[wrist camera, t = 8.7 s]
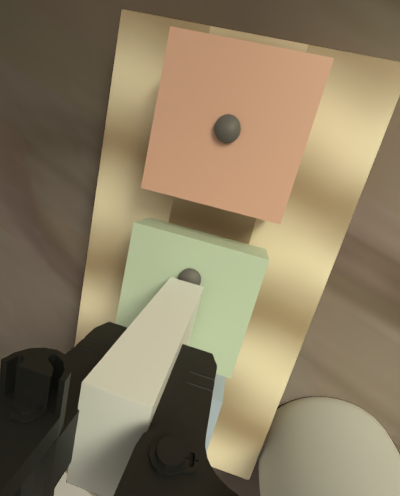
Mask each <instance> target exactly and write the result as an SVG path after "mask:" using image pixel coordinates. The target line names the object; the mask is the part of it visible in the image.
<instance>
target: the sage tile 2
mask: <svg viewBox="0 0 400 496" xmlns="http://www.w3.org/2000/svg"><path fill="white" fill-rule="evenodd" d="M268 263H269V257H268V254H267V251H266V249H264V248H260V247H256V246H253V245H249V244H245V243H242V242H238V241H234V240H231V239H227V238H223V237H220V236H216V235H213V234H209V233H205V232H202V231H198V230H194V229H191V228H187V227H183V226H180V225H176V224H172V223H169V222H165V221H161V220H158V219H154V218H150V217H149V218H145V219H142V220H139V221H136V222H134V223H133V228H132V234H131V239H130V245H129V250H128V256H127V261H126V267H125V273H124V278H123V284H122V289H121V295H120V300H119V306H118V311H117V317H116V322H115V324H118V325H121V326H124V327H127V328H128V327H129V326H130V325H131V323H132V322H133V321H134V320H135V319H136V317H137V316H138V315H139V314H140V313H141V312H142V310H143V309H144V308H145V307H146V306H147V304H148V303H149V302H150V301H151V300H152V299H153V297H154V296H155V295H156V294H157V293H158V291H159V290H160V289H161V288H162V287H163V285H164V284H165V283H166V282H167V281H168V280H169V278H170V277H172V278H175V279H179V280H182V281H186V282H189V283H192V284H196V285H199V286H203V287H204V288H203V292H202V296H201V299H200V303H199V307H198V311H197V314H196V318H195V322H194V326H193V329H192V333H191V337H190V341H189V344H188V346H190V347H193V348H197V349H200V350H203V351H206V352H209V353H212V354H213V356H214V359H215V362H216V364H217V371H216V374H218V375H221V376H224V377H227V378H230V379H231V377H232V374H233V370H234V367H235V364H236V361H237V358H238V355H239V352H240V349H241V346H242V343H243V340H244V337H245V333H246V330H247V327H248V324H249V321H250V318H251V315H252V312H253V309H254V306H255V303H256V300H257V296H258V293H259V290H260V287H261V284H262V281H263V278H264V275H265V272H266V269H267V266H268Z"/></svg>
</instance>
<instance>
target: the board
mask: <svg viewBox="0 0 400 496" xmlns="http://www.w3.org/2000/svg"><path fill="white" fill-rule="evenodd" d="M170 26H172V27H177V28H182V29H188V30H193V31H198V32H203V33H208V34H213V35H218V36H224V37H229V38H234V39H239V40H244V41H249V42H255V43H260V44H265V45H270V46H275V47H280V48H285V49H291V50H296V51H301V52H306V53H311V54H316V55H321V56H327V57H332V58H334V61H333V64H332V67H331V70H330V73H329V76H328V79H327V82H326V85H325V88H324V91H323V94H322V98H321V101H320V104H319V107H318V110H317V113H316V116H315V119H314V122H313V125H312V128H311V132H310V135H309V138H308V141H307V144H306V147H305V150H304V153H303V156H302V159H301V162H300V165H299V169H298V172H297V175H296V178H295V181H294V184H293V187H292V190H291V193H290V196H289V199H288V202H287V206H286V209H285V212H284V215H283V218H282V221H281V224H276V223H273V222H269V221H265V220H261V219H257V218H254V217H250V216H246V215H242V214H238V213H235V212H231V211H227V210H223V209H219V208H215V207H212V206H208V205H204V204H200V203H196V202H193V201H189V200H185V199H181V198H177V197H174V196H170V195H166V194H162V193H158V192H155V191H151V190H147V189H143V188H141V184H142V179H143V173H144V168H145V162H146V157H147V151H148V146H149V140H150V135H151V129H152V124H153V118H154V113H155V107H156V102H157V96H158V91H159V85H160V80H161V74H162V69H163V63H164V58H165V52H166V47H167V41H168V36H169V30H170ZM399 96H400V62H397V61H391V60H386V59H381V58H376V57H370V56H365V55H360V54H355V53H349V52H344V51H339V50H334V49H329V48H323V47H318V46H313V45H308V44H302V43H297V42H292V41H287V40H281V39H276V38H271V37H266V36H260V35H255V34H250V33H245V32H239V31H234V30H229V29H224V28H218V27H213V26H208V25H203V24H198V23H192V22H187V21H182V20H177V19H171V18H166V17H161V16H156V15H150V14H145V13H140V12H135V11H129V10H124V9H122V10H121V18H120V25H119V32H118V39H117V46H116V53H115V60H114V68H113V75H112V82H111V89H110V96H109V103H108V111H107V118H106V125H105V132H104V139H103V146H102V153H101V161H100V168H99V175H98V182H97V189H96V196H95V203H94V211H93V218H92V225H91V232H90V239H89V246H88V253H87V261H86V268H85V275H84V282H83V289H82V296H81V303H80V311H79V318H78V325H77V332H76V339H75V346H76V345H77V344H78V343H79V342H80V341H81V340H82V339H84V338H85V336H86V335H87V334H88V333H90V332H91V331H92V330H93V329H94V328H95V327H97V326H100V325H102V324H105V323H107V322H112V323H115V322H116V317H117V311H118V306H119V300H120V295H121V289H122V284H123V278H124V273H125V267H126V261H127V256H128V250H129V245H130V239H131V234H132V228H133V223H134V222H136V221H139V220H142V219H145V218H149V217H150V218H154V219H158V220H161V221H165V222H169V223H172V224H176V225H180V226H183V227H187V228H191V229H194V230H198V231H202V232H205V233H209V234H213V235H216V236H220V237H223V238H227V239H231V240H234V241H238V242H242V243H245V244H249V245H253V246H256V247H260V248H264V249H266V251H267V254H268V257H269V263H268V266H267V269H266V272H265V275H264V278H263V281H262V284H261V287H260V290H259V293H258V296H257V300H256V303H255V306H254V309H253V312H252V315H251V318H250V321H249V324H248V327H247V330H246V333H245V337H244V340H243V343H242V346H241V349H240V352H239V355H238V358H237V361H236V364H235V367H234V370H233V374H232V377H231V379H230V378H227V377H225V386H224V396H223V403H222V406H221V409H220V412H219V416H218V419H217V422H216V425H215V428H214V431H213V434H212V437H211V440H210V443H209V446H208V449H207V458H208V460H209V463H210V465H211V467H214V468H217V469H219V470H222V471H225V472H227V473H230V474H233V475H236V476H238V477H241V478H244V479H247V480H249V479H250V477H251V474H252V472H253V469H254V466H255V464H256V461H257V459H258V456H259V454H260V451H261V449H262V446H263V443H264V441H265V438H266V436H267V433H268V431H269V428H270V426H271V423H272V420H273V418H274V415H275V413H276V410H277V408H278V405H279V403H280V400H281V397H282V395H283V392H284V390H285V387H286V385H287V382H288V379H289V377H290V374H291V372H292V369H293V367H294V364H295V362H296V359H297V356H298V354H299V351H300V349H301V346H302V344H303V341H304V339H305V336H306V333H307V331H308V328H309V326H310V323H311V321H312V318H313V316H314V313H315V310H316V308H317V305H318V303H319V300H320V298H321V295H322V293H323V290H324V287H325V285H326V282H327V280H328V277H329V275H330V272H331V270H332V267H333V264H334V262H335V259H336V257H337V254H338V252H339V249H340V247H341V244H342V241H343V239H344V236H345V234H346V231H347V229H348V226H349V224H350V221H351V218H352V216H353V213H354V211H355V208H356V206H357V203H358V201H359V198H360V195H361V193H362V190H363V188H364V185H365V183H366V180H367V177H368V175H369V172H370V170H371V167H372V165H373V162H374V160H375V157H376V154H377V152H378V149H379V147H380V144H381V142H382V139H383V137H384V134H385V131H386V129H387V126H388V124H389V121H390V119H391V116H392V114H393V111H394V108H395V106H396V103H397V101H398V98H399ZM75 346H74V348H75Z"/></svg>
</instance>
